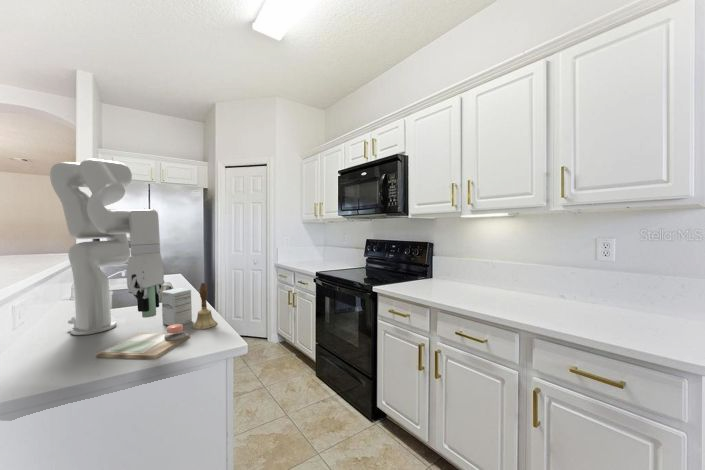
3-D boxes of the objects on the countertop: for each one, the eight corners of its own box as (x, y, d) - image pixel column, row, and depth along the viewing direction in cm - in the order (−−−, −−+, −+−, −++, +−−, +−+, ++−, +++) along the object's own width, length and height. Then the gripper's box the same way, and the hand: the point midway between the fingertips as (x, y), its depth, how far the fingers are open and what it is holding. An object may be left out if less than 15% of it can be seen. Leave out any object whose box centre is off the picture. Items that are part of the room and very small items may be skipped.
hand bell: (187, 328, 110) (185, 285, 109) (202, 321, 118) (200, 280, 117) (207, 330, 109) (206, 285, 108) (221, 322, 117) (220, 281, 116)
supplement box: (161, 324, 115) (160, 291, 114) (180, 318, 121) (179, 287, 120) (173, 327, 111) (172, 293, 110) (192, 321, 118) (191, 289, 117)
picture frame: (96, 357, 88) (95, 350, 88) (138, 335, 104) (138, 329, 103) (155, 358, 86) (155, 352, 86) (189, 336, 102) (189, 331, 102)
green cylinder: (138, 317, 92) (136, 281, 92) (148, 313, 96) (146, 278, 96) (150, 317, 92) (148, 280, 92) (159, 313, 96) (157, 278, 95)
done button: (163, 333, 97) (163, 328, 97) (172, 328, 102) (172, 323, 102) (177, 333, 97) (177, 329, 97) (186, 328, 101) (186, 324, 101)
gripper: (153, 247, 102) (156, 302, 103) (110, 253, 85) (114, 317, 86) (175, 247, 101) (177, 302, 102) (136, 252, 85) (139, 317, 86)
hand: (148, 308), depth 94 cm, fingers closed on green cylinder, 3 cm apart
